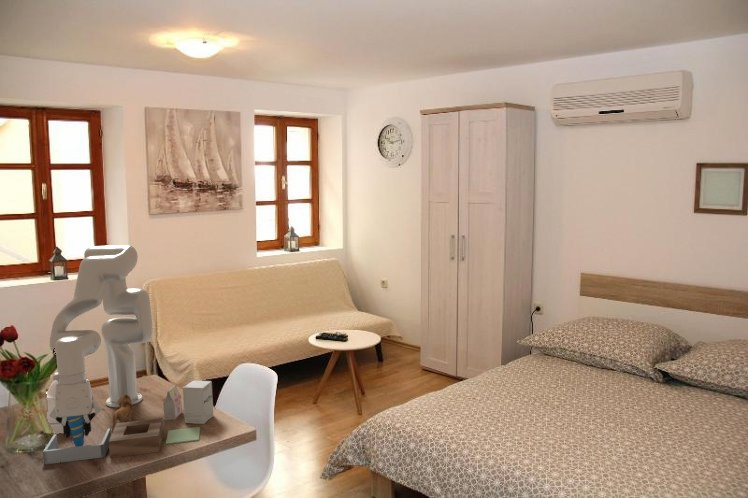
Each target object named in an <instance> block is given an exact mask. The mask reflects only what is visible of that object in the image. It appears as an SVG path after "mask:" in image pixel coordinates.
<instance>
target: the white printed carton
mask: <svg viewBox="0 0 748 498" xmlns="http://www.w3.org/2000/svg"><path fill="white" fill-rule="evenodd" d="M182 413H183V404H182V395H181V393H180V392H179V390H178V387H177V384H176V385H173V386H172V387H171V388H170V389H169V390H168V391H167V393H166V396H165V399H164V401H163V414H164V421H176V419H177V418H179V417H180V415H181V414H182Z"/></svg>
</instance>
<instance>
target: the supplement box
mask: <svg viewBox="0 0 748 498" xmlns="http://www.w3.org/2000/svg"><path fill="white" fill-rule="evenodd" d="M182 394H183V398H182V399H183V413H184V424H194V425H195V424H196V425H198V424H199V425H205V424H206V423H207V422H208V420H210V419H211V418H212V417H214V401H213V400H214V399H213V383H212V381H211V380H192V381H190V382H189V383H188V384H186V385H185V386H183V387H182Z"/></svg>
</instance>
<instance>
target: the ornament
mask: <svg viewBox="0 0 748 498" xmlns="http://www.w3.org/2000/svg"><path fill="white" fill-rule="evenodd" d="M67 419H68V425H69V427H70V429H71V430H70V432H71V436H72V442H73V444H74V447H77V446H84V443H85V430H84V423H85V419H84V417H83V415H82V416H73V417H67Z"/></svg>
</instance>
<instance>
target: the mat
mask: <svg viewBox="0 0 748 498" xmlns="http://www.w3.org/2000/svg"><path fill="white" fill-rule="evenodd" d="M200 433H201V426H196V427H195V426H194V427H187V428H180V429H169V430H168V432H167V436H166V440H165V445H173V444H179V443H180V444H181V443H182V444H183V443H190V442H197V441H200V435H201V434H200Z"/></svg>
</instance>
